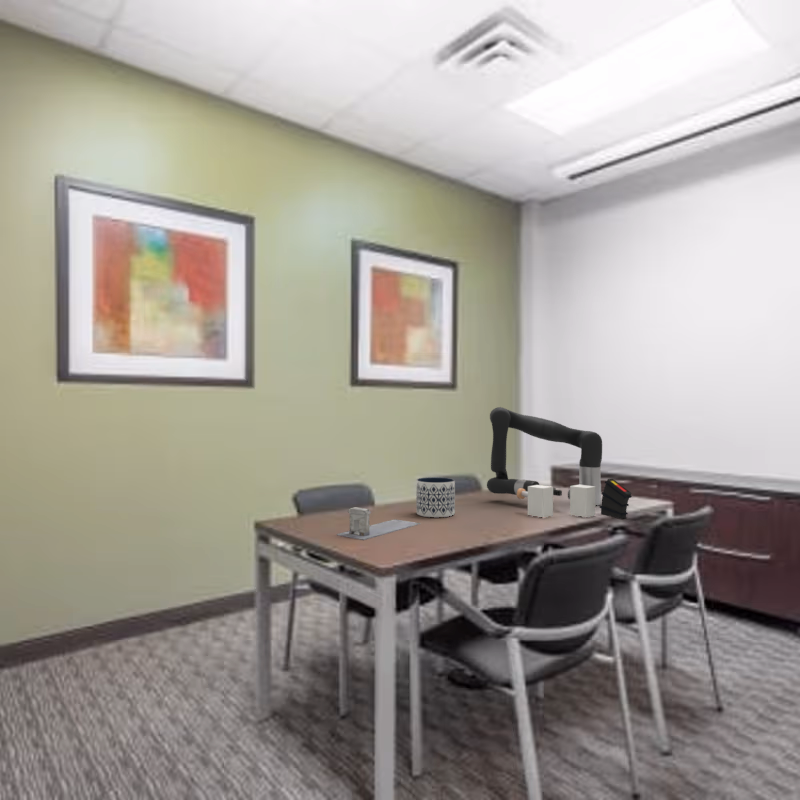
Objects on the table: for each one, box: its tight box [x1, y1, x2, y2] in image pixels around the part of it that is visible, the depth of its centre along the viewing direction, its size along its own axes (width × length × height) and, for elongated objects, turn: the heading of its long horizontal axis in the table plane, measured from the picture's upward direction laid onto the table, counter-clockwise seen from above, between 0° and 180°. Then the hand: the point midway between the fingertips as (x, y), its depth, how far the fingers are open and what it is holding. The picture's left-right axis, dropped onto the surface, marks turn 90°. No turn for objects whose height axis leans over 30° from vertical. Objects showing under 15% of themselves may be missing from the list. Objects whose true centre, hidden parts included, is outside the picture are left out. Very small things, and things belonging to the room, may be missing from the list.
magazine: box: [599, 478, 632, 519], centre depth 244 cm, size 4×13×15 cm, turn 29°
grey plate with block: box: [336, 506, 421, 541], centre depth 218 cm, size 12×33×10 cm, turn 143°
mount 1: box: [527, 484, 554, 518], centre depth 244 cm, size 7×8×12 cm
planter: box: [415, 476, 456, 519], centre depth 247 cm, size 16×16×14 cm
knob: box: [516, 488, 528, 500], centre depth 249 cm, size 4×8×4 cm, turn 42°
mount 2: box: [569, 484, 596, 518], centre depth 246 cm, size 7×8×12 cm
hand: (561, 493), depth 253 cm, fingers closed
